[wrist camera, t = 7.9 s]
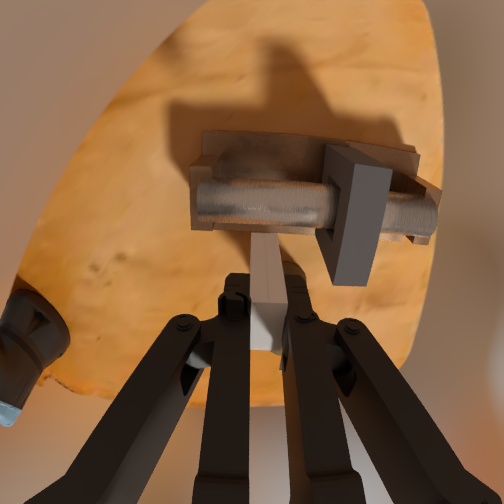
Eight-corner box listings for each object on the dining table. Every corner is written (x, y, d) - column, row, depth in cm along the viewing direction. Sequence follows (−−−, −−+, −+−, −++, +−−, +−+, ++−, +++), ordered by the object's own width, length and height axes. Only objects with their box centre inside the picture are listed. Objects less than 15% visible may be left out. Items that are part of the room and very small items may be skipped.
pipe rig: (204, 226, 34) (187, 264, 26) (203, 130, 29) (182, 140, 21) (399, 238, 34) (429, 275, 26) (417, 153, 29) (458, 172, 21)
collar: (314, 233, 32) (332, 285, 24) (325, 143, 28) (354, 163, 19) (340, 235, 32) (366, 286, 24) (353, 147, 28) (392, 169, 19)
